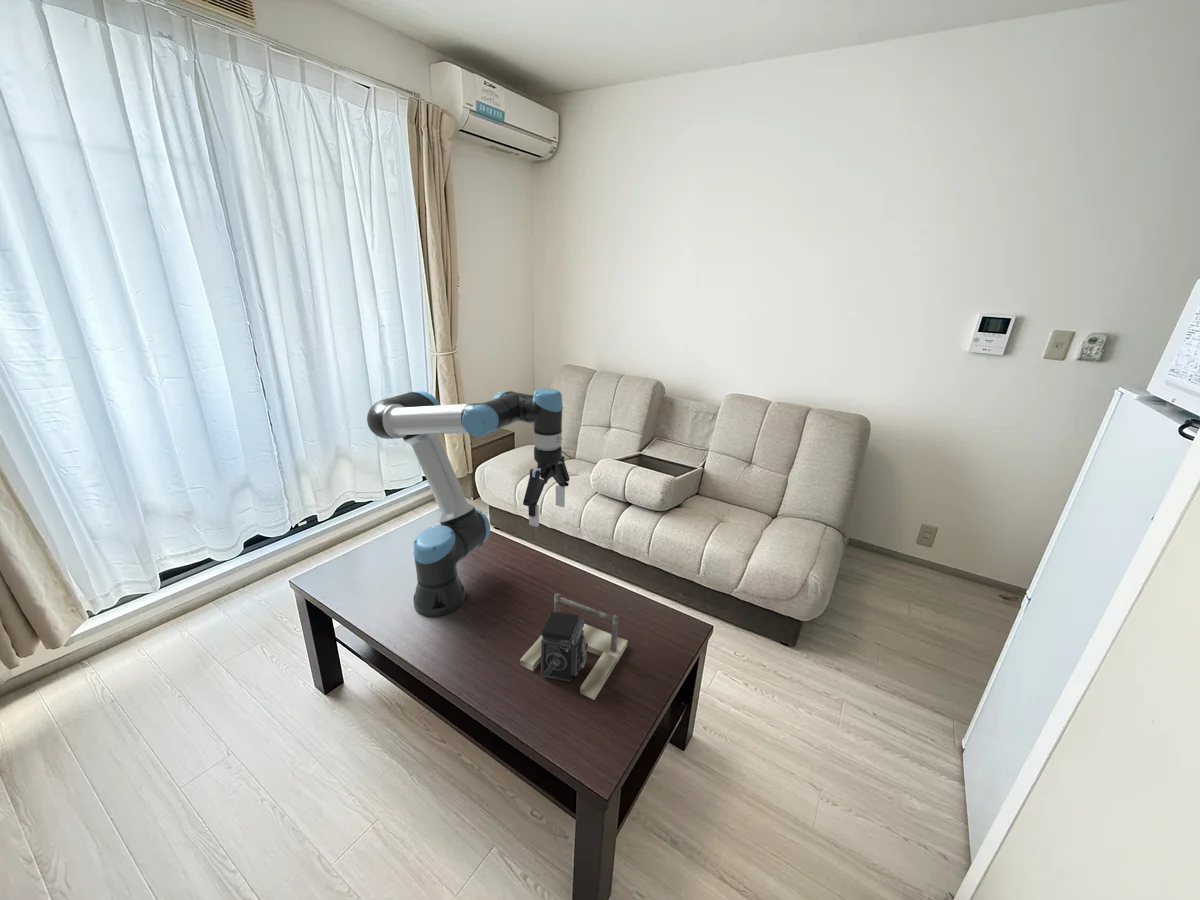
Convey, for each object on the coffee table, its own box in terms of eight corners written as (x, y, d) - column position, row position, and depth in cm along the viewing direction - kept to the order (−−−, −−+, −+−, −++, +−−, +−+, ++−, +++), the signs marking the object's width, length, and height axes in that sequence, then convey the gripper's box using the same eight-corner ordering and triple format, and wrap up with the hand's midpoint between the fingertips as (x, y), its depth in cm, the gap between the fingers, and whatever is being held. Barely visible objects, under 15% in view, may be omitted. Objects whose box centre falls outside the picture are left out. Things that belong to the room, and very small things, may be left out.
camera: (579, 689, 115) (581, 642, 109) (539, 681, 117) (539, 634, 111) (589, 658, 124) (591, 613, 119) (551, 651, 126) (552, 606, 121)
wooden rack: (520, 665, 121) (519, 625, 116) (559, 619, 138) (560, 583, 133) (594, 700, 112) (596, 658, 107) (627, 646, 129) (630, 608, 124)
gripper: (532, 463, 113) (533, 538, 121) (582, 436, 134) (580, 501, 142) (508, 457, 116) (510, 530, 124) (560, 431, 137) (559, 495, 145)
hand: (547, 515), depth 133 cm, fingers open, 13 cm apart
